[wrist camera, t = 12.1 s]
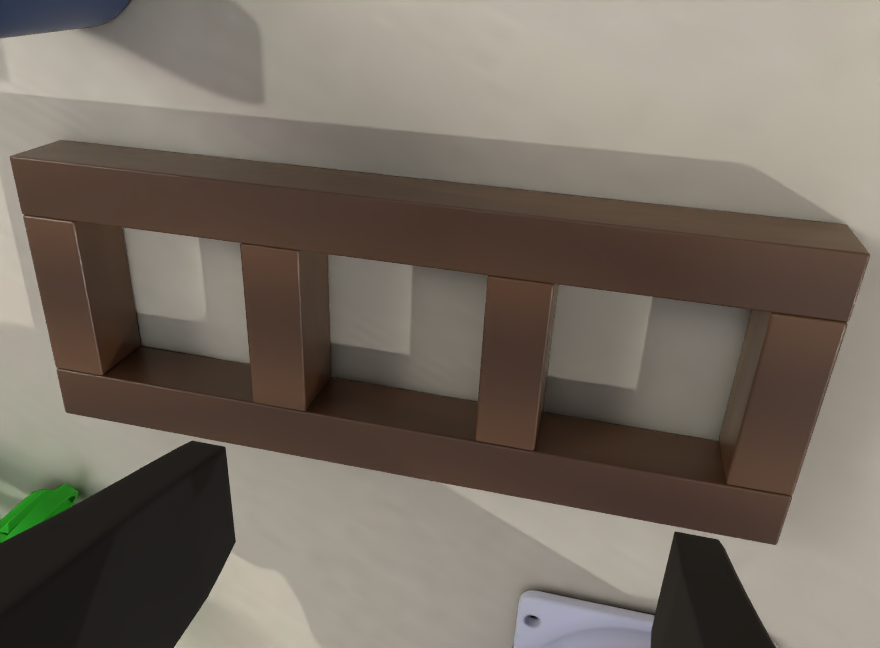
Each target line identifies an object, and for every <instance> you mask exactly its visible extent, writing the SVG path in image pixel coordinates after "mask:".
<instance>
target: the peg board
mask: <svg viewBox="0 0 880 648" xmlns="http://www.w3.org/2000/svg"><path fill="white" fill-rule="evenodd" d="M10 161H11V165H12V170H13V174H14V179H15V183H16V188H17V193H18V197H19V202H20V206H21V211H22V214H25V215H24V217H23V218H24V222H25V227H26V232H27V236H28V241H29V245H30V250H31V254H32V259H33V264H34V268H35V273H36V277H37V282H38V286H39V291H40V296H41V300H42V305H43V309H44V314H45V318H46V323H47V328H48V332H49V337H50V341H51V346H52V350H53V355H54V360H55V364H56V367H57V374H58V379H59V383H60V388H61V392H62V397H63V401H64V406H65V411H66V412H67V413H71V414H76V415H82V416H87V417H92V418H98V419H103V420H109V421H114V422H119V423H125V424H130V425H135V426H141V427H146V428H151V429H157V430H162V431H167V432H173V433H178V434H184V435H189V436H194V437H200V438H205V439H210V440H216V441H221V442H226V443H232V444H237V445H242V446H248V447H253V448H259V449H264V450H269V451H275V452H280V453H285V454H291V455H296V456H301V457H307V458H312V459H317V460H323V461H328V462H333V463H339V464H344V465H350V466H355V467H360V468H366V469H371V470H376V471H382V472H387V473H392V474H398V475H403V476H408V477H414V478H419V479H425V480H430V481H435V482H441V483H446V484H451V485H457V486H462V487H467V488H473V489H478V490H483V491H489V492H494V493H500V494H505V495H510V496H516V497H521V498H526V499H532V500H537V501H542V502H548V503H553V504H558V505H564V506H569V507H574V508H580V509H585V510H591V511H596V512H601V513H607V514H612V515H617V516H623V517H628V518H633V519H639V520H644V521H649V522H655V523H660V524H666V525H671V526H676V527H682V528H687V529H692V530H698V531H703V532H708V533H714V534H719V535H724V536H730V537H735V538H741V539H746V540H751V541H757V542H762V543H767V544H773V545H776V544H777V543H778V540H779V536H780V533H781V530H782V527H783V524H784V521H785V518H786V515H787V512H788V508H789V505H790V502H791V499H792V496H791V495H792V494H793V492H794V489H795V486H796V483H797V480H798V477H799V474H800V471H801V467H802V464H803V461H804V458H805V455H806V452H807V449H808V446H809V443H810V440H811V436H812V433H813V430H814V427H815V424H816V421H817V418H818V415H819V412H820V408H821V405H822V402H823V399H824V396H825V393H826V390H827V387H828V384H829V380H830V377H831V374H832V371H833V368H834V365H835V362H836V359H837V356H838V352H839V349H840V346H841V343H842V340H843V337H844V334H845V331H846V328H847V322H848V321H849V320H850V317H851V314H852V311H853V307H854V304H855V301H856V298H857V295H858V292H859V289H860V286H861V283H862V279H863V276H864V273H865V270H866V267H867V264H868V261H869V258H870V254H869V252H868V251H867V250H866V248H865V247H864V246H863V245H862V243H861V242H860V241H859V239H858V238H857V237H856V236H855V234H854V233H853V232H852V230H851V229H850V228H849V227H848V225H844V224H835V223H826V222H816V221H807V220H798V219H788V218H779V217H770V216H761V215H751V214H742V213H733V212H723V211H714V210H705V209H696V208H686V207H677V206H668V205H658V204H649V203H640V202H630V201H621V200H612V199H603V198H593V197H584V196H575V195H565V194H556V193H547V192H538V191H528V190H519V189H510V188H500V187H491V186H482V185H473V184H463V183H454V182H445V181H435V180H426V179H417V178H407V177H398V176H389V175H380V174H370V173H361V172H352V171H342V170H333V169H324V168H315V167H305V166H296V165H287V164H277V163H268V162H259V161H250V160H240V159H231V158H222V157H212V156H203V155H194V154H184V153H175V152H166V151H157V150H147V149H138V148H129V147H119V146H110V145H101V144H92V143H82V142H73V141H64V140H60V141H57V142H54V143H50V144H47V145H44V146H41V147H38V148H35V149H31V150H28V151H25V152H22V153H19V154H15V155H12V156H10ZM122 227H125V228H132V229H140V230H148V231H155V232H163V233H171V234H178V235H186V236H194V237H201V238H209V239H217V240H224V241H232V242H240V243H241V244H240V247H241V259H242V271H243V283H244V295H245V307H246V319H247V331H248V343H249V354H250V364H244V363H237V362H231V361H225V360H219V359H213V358H207V357H201V356H195V355H189V354H183V353H176V352H170V351H164V350H158V349H152V348H146V347H140V345H141V343H140V337H139V331H138V324H137V318H136V312H135V305H134V299H133V293H132V286H131V280H130V274H129V267H128V261H127V255H126V248H125V242H124V235H123V229H122ZM328 254H331V255H339V256H347V257H354V258H362V259H370V260H377V261H385V262H393V263H400V264H408V265H416V266H423V267H431V268H439V269H446V270H454V271H461V272H469V273H477V274H484V275H488V278H487V291H486V304H485V317H484V330H483V343H482V356H481V369H480V382H479V396H478V402H475V401H469V400H463V399H457V398H451V397H445V396H439V395H433V394H426V393H420V392H414V391H408V390H402V389H396V388H390V387H384V386H378V385H372V384H365V383H359V382H353V381H347V380H341V379H335V378H330V377H331V359H330V323H329V287H328ZM558 284H561V285H569V286H576V287H584V288H592V289H599V290H607V291H615V292H622V293H630V294H638V295H645V296H653V297H661V298H668V299H676V300H683V301H691V302H699V303H706V304H714V305H722V306H729V307H737V308H745V309H752V311H751V315H750V319H749V323H748V327H747V331H746V335H745V339H744V343H743V347H742V350H741V354H740V358H739V362H738V366H737V370H736V374H735V378H734V382H733V386H732V390H731V394H730V398H729V402H728V405H727V409H726V413H725V417H724V421H723V425H722V429H721V433H720V437H719V441H713V440H707V439H701V438H695V437H689V436H683V435H677V434H670V433H664V432H658V431H652V430H646V429H640V428H634V427H628V426H622V425H616V424H609V423H603V422H597V421H591V420H585V419H579V418H573V417H567V416H561V415H555V414H548V413H543V406H544V398H545V390H546V382H547V374H548V366H549V357H550V349H551V341H552V333H553V325H554V317H555V309H556V301H557V293H558Z"/></svg>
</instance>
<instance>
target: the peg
mask: <svg viewBox="0 0 880 648" xmlns="http://www.w3.org/2000/svg"><path fill="white" fill-rule="evenodd" d="M128 2H129V0H0V38H7V37H15V36H23V35H31V34H39V33H47V32H55V31H63V30H71V29H79V28H87V27H93V26H98V25H101V24H104V23H106V22H108V21H110V20H112V19H113V18H115V17H116V16H117V15H118V14H119V13H120V12H121V11H122V10H123V9H124V8H125V7H126V5H127V4H128Z"/></svg>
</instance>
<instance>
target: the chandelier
mask: <svg viewBox="0 0 880 648" xmlns="http://www.w3.org/2000/svg"><path fill="white" fill-rule="evenodd" d="M78 494H79V492H78V491H77V490H76V489H74V488H73V487H71V486H70V485H69V484H67V483H66V484H63V485H61V486H60V487H58V488H57V489H55V490H54V491H52V490H46V489H43V490H39V491H35V492H32V493H31V494H30V495H29V496H28V497H26V498H25V499H24V500H23V501H22V502H21V503H19V504H18V505H17V506H16V507H15V508H14V509H13V510H11V511H10V512H9V513H8V514H7V515H6V516H5V517H4V518H2V519H1V520H0V543H1V542H3V541H5V540H7V539H9V538H11V537H13V536H15V535H17V534H19V533H21V532H23V531H25V530H27V529H29V528H31V527H33V526H35V525H37V524H39V523H41V522H43V521H45V520H47V519H49V518H51V517H53V516H55V515H57V514H59V513H61V512H62V511H64V510H66V509H68V508H70V507H72V506H74V505H73V503H74V502H75V500H76V498H77V497H78Z"/></svg>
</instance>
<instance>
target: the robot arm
mask: <svg viewBox="0 0 880 648" xmlns="http://www.w3.org/2000/svg"><path fill="white" fill-rule="evenodd" d="M235 542H236V541H235V532H234V523H233V513H232V504H231V495H230V485H229V476H228V467H227V457H226V448H225V447H223V446H217V445H212V444H207V443H201V442H196V441H191V442H189V443H187V444H185V445H183V446H181V447H179V448H177V449H175V450H173V451H171V452H169V453H167V454H166V455H164V456H162V457H160V458H158V459H157V460H155V461H153V462H151V463H149V464H148V465H146V466H144V467H142V468H140V469H139V470H137V471H135V472H133V473H132V474H130V475H128V476H126V477H125V478H123V479H121V480H119V481H117V482H116V483H114V484H112V485H110V486H108V487H107V488H105V489H103V490H101V491H99V492H98V493H96V494H94V495H92V496H90V497H89V498H87V499H85V500H83V501H81V502H80V503H78V504H76V505H74V506H72V507H70V508H68V509H66V510H64V511H62V512H61V513H59V514H57V515H55V516H53V517H51V518H49V519H47V520H45V521H43V522H41V523H39V524H37V525H35V526H33V527H31V528H29V529H27V530H25V531H23V532H21V533H19V534H17V535H15V536H13V537H11V538H9V539H7V540H5V541H3V542H1V543H0V648H174V646H175V645H176V643H177V642H178V640H179V639H180V638H181V636H182V635H183V633H184V632H185V630H186V629H187V627H188V626H189V624H190V623H191V621H192V620H193V618H194V617H195V615H196V614H197V612H198V611H199V609H200V608H201V606H202V605H203V603H204V602H205V600H206V599H207V597H208V595H209V593H210V591H211V590H212V588H213V586H214V584H215V582H216V580H217V578H218V576H219V574H220V573H221V571H222V569H223V566H224V564H225V562H226V560H227V558H228V556H229V554H230V552H231V550H232V548H233V546H234V544H235ZM528 615H533V616H535V617H537V618H532V617H530V616H528ZM513 648H779V647H778V646H777V644H775V643H774V642H773V641H772V640H771V638H770V636H769V635H768V633H767V631H766V629H765V627H764V626H763V624H762V622H761V620H760V618H759V616H758V615H757V613H756V611H755V609H754V607H753V605H752V603H751V601H750V599H749V597H748V596H747V594H746V592H745V590H744V588H743V586H742V584H741V582H740V580H739V578H738V576H737V574H736V572H735V570H734V567H733V565H732V563H731V561H730V559H729V557H728V555H727V553H726V550H725V548H724V547H723V545H722V544H721V543H720V541H719V540H717V539H712V538H707V537H701V536H696V535H691V534H685V533H680V532H675V533H674V537H673V541H672V545H671V550H670V554H669V558H668V562H667V566H666V571H665V575H664V579H663V583H662V587H661V592H660V596H659V600H658V604H657V608H656V613H655V615H650V614H645V613H640V612H636V611H631V610H626V609H621V608H617V607H612V606H607V605H602V604H597V603H593V602H588V601H583V600H578V599H574V598H569V597H564V596H559V595H555V594H550V593H545V592H540V591H534V590H530V591H526V592H524V593H523V594H521V596H520V599H519V604H518V611H517V619H516V628H515V636H514V644H513Z"/></svg>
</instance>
